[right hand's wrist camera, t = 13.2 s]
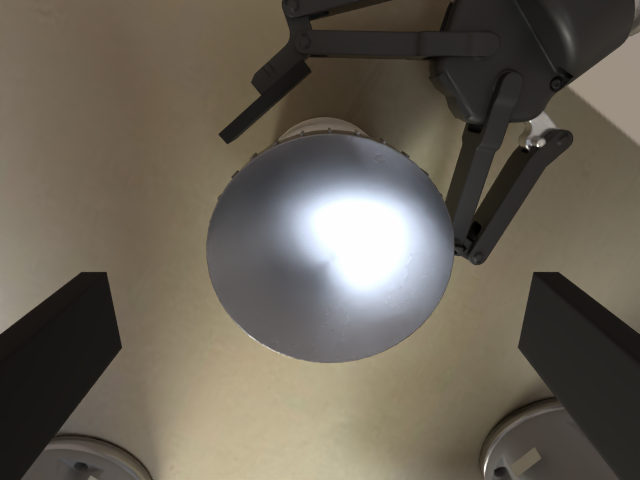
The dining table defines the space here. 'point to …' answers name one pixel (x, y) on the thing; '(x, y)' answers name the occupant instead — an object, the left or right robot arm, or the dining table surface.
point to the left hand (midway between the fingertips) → (297, 217)
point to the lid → (330, 246)
